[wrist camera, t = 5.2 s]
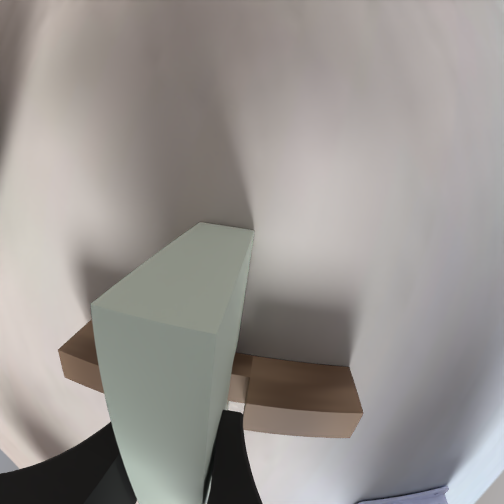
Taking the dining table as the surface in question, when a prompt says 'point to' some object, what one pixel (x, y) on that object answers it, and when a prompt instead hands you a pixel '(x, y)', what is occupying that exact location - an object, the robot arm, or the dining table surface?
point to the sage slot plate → (173, 359)
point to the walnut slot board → (257, 390)
